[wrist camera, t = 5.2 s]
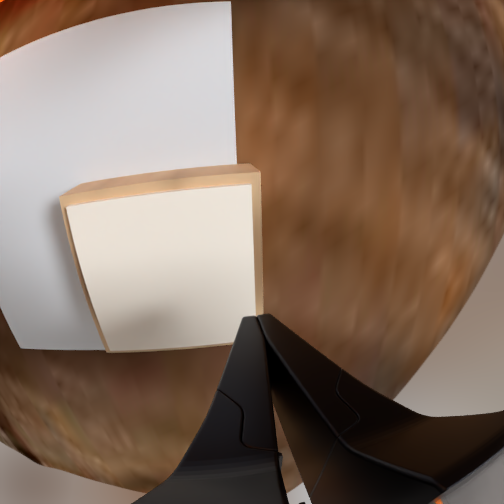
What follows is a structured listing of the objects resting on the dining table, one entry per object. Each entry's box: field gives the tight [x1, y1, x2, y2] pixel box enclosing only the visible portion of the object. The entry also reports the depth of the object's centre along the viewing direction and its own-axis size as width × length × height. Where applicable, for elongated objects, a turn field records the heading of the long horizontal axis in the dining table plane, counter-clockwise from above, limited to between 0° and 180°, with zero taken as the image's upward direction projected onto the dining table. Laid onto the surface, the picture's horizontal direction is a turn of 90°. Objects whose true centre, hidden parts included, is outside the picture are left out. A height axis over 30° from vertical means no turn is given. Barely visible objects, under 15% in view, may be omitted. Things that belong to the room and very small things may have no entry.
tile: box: [59, 163, 263, 353], centre depth 13 cm, size 8×3×8 cm
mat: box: [0, 2, 237, 350], centre depth 12 cm, size 18×16×1 cm
